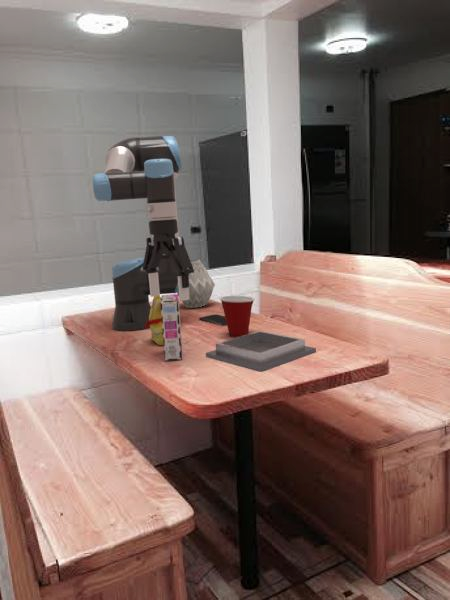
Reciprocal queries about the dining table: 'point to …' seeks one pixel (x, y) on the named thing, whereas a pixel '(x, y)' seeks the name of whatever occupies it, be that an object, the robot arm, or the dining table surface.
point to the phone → (215, 319)
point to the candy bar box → (171, 327)
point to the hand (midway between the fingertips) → (169, 298)
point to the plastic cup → (237, 314)
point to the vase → (199, 286)
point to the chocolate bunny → (156, 321)
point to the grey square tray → (260, 350)
